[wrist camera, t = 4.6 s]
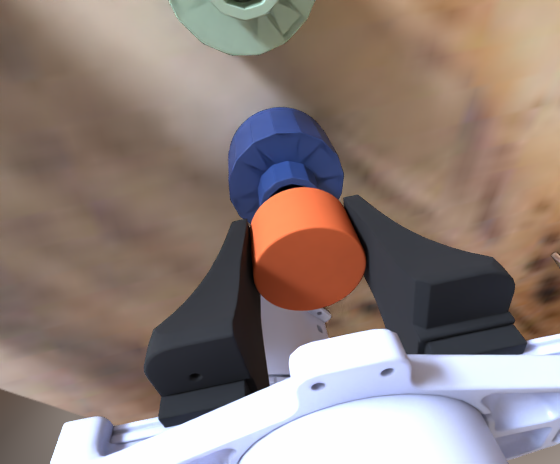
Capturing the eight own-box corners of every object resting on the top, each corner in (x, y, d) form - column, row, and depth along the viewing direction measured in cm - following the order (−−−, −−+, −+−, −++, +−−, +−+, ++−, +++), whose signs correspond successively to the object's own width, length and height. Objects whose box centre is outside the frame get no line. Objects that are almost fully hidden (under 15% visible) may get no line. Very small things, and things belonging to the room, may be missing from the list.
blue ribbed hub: (347, 154, 25) (376, 201, 20) (278, 214, 28) (289, 270, 23) (279, 83, 22) (294, 119, 17) (207, 159, 24) (203, 210, 20)
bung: (358, 209, 17) (388, 267, 14) (292, 261, 18) (306, 325, 15) (297, 151, 15) (316, 204, 12) (228, 216, 16) (229, 279, 13)
